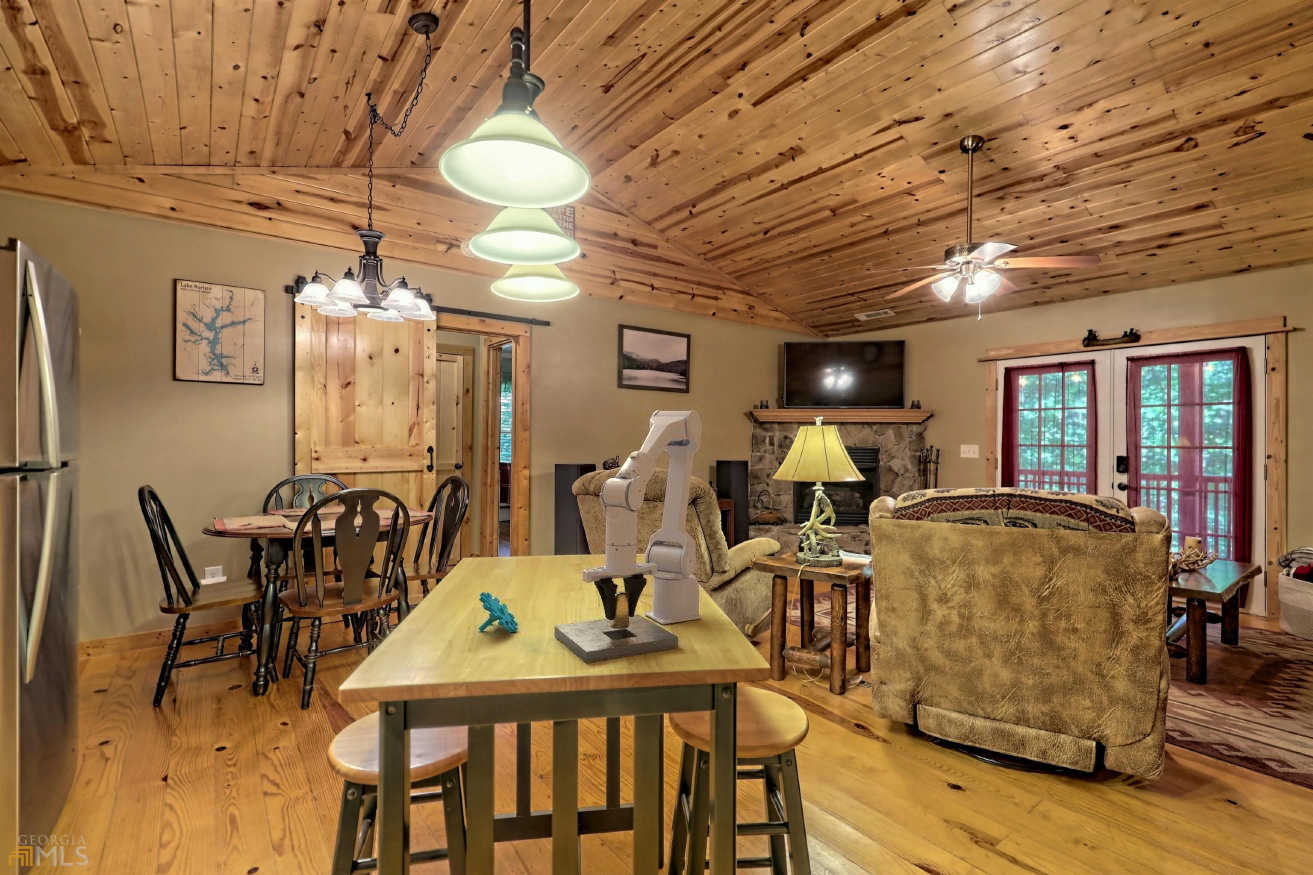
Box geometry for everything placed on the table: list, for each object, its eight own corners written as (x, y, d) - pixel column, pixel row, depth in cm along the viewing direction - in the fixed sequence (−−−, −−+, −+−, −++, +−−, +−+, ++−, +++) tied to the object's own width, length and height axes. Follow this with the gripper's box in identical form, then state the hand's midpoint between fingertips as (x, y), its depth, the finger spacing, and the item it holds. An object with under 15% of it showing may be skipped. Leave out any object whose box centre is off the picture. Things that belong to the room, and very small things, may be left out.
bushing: (623, 622, 119) (623, 589, 119) (632, 626, 116) (632, 593, 116) (606, 625, 117) (606, 592, 117) (615, 629, 114) (615, 596, 114)
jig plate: (638, 623, 130) (638, 614, 130) (678, 647, 116) (678, 636, 116) (554, 636, 121) (554, 625, 121) (586, 663, 107) (586, 651, 107)
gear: (514, 631, 118) (478, 592, 119) (490, 654, 118) (455, 614, 119) (526, 622, 129) (493, 586, 130) (505, 642, 129) (472, 606, 130)
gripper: (644, 537, 124) (642, 606, 124) (575, 542, 116) (574, 616, 116) (663, 543, 118) (661, 615, 118) (592, 549, 110) (591, 627, 110)
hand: (619, 617), depth 116 cm, fingers closed on bushing, 4 cm apart
